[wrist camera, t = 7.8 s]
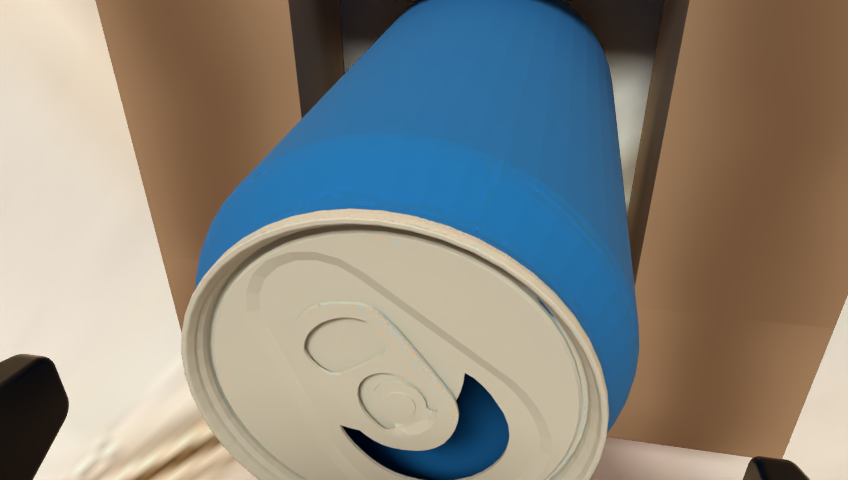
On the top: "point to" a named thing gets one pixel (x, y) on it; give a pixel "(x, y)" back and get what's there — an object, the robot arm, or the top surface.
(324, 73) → the can holder
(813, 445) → the top surface
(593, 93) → the beverage can
